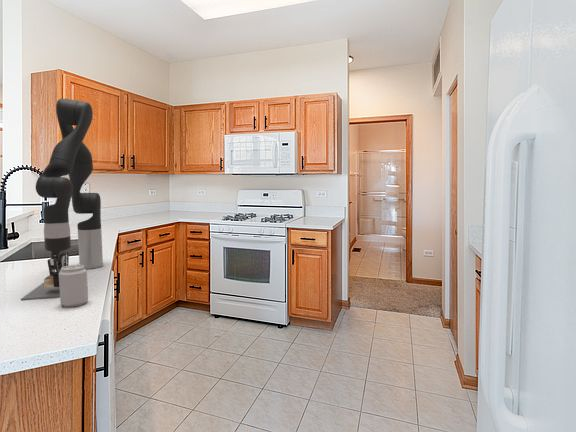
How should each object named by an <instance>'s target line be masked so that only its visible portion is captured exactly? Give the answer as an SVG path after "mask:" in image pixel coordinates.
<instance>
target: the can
mask: <svg viewBox="0 0 576 432" xmlns="http://www.w3.org/2000/svg"><path fill="white" fill-rule="evenodd" d="M87 270H88V269H85V268H84V266H83V265H80V264H71V265H68V266H65V267H62V268H61V271H60V272H59V287H60V297H59V301H60V302H59V303H60V304H61V305H62V306H63V307H64V308H65V307H66V308H75V307H79V306H82V305H84V304H85V303H86V302H87V301H89V291H88V271H87Z"/></svg>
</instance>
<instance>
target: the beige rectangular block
mask: <svg viewBox="0 0 576 432" xmlns="http://www.w3.org/2000/svg"><path fill="white" fill-rule="evenodd" d="M43 283H44V288H54V282H53V276H50V274H49V275H48V276H46V277H45V278H44V279H43Z"/></svg>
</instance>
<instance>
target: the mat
mask: <svg viewBox="0 0 576 432" xmlns="http://www.w3.org/2000/svg"><path fill="white" fill-rule="evenodd" d="M55 298H59V299H60V287H54V288H44V282H42V283H41V284H40V285H38V286H37V287H35V288H34V289H33V290H32V291H29V292H28V293H27V294H25V295H24V296H23V297H22V298H20V300H21V301H31V300H42V299H43V300H46V299H55Z"/></svg>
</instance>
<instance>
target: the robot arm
mask: <svg viewBox="0 0 576 432" xmlns="http://www.w3.org/2000/svg"><path fill="white" fill-rule="evenodd" d="M92 107H93V106H92V105H91V104H90V103H89V102H87V101H83V100H77V99H70V98H59V99H58V100H57V101H56V105H55V112H56V113H55V114H56V118H57V121H58V126H59V129H60V134H61V137H62V139H61V140H60V141H59V142H57V144H56V145H55V146H54V147H53V150H52V152H51V156H50V159H49V162H48V164H47V165H46V167H45V168H44V170H43V171H42V172H41V174H40V175H39V176H38V178H37V180H36V182H35V191H36V194H37V195H38V196H39V197H41V198H44V199H45V198H46V199H56V200H55V203H54V204H49V205H46V206H44V208H43V220H44V222H43V224H44V226H43V237H44V250H45V251H47V252H50V253H51V254H50V257H49V259H47V266H48V272H49V275H50V276H53V282H54V287H59V272H60V271H61V268H62V267H65V266H69V264H70V263H69V262H70V261H69V257H70V256H69V255H70V253H69V251H67V250H69V249H71V248H72V240H71V239H72V238H71V227H70V222H69V217H70V216H69V208H70V204H72V210H73V211H74V213H75V214H80V215H81V214H82V215H83V214H84V215H85V214H91V215H92V216H91V217H89V218H88V219H86V220H82V221H80V222H78V223H77V241H78V243H77V245H78V260H79V261H78V262H79V263H78V265H83V266H84V268H85V269H86V270H89V269H98V268H102V267H103V266H104V262H103V261H104V258H103V238H102V237H103V236H102V234H103V233H102V219H101V215H102V214H101V209H102V207H101V206H102V205H101V204H102V202H101V200H102V199H101V195H100V194H99V193H98V192H81V189H82V187H83V185H84V183H85V182H86V181H87V180H88V178H89V177H90V176H91V174H92V172H93V171H94V165H93V164H94V163H93V156H92V153H91V151H90V150H89V148H88V147H87V146H86V145H85V143H84V139H85V137H86V135H87V133H88V130H89V129H90V126H91V124H92V122H93V114H94V113H93V108H92ZM74 126H75V127H74ZM65 176H68V177H65Z"/></svg>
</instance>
